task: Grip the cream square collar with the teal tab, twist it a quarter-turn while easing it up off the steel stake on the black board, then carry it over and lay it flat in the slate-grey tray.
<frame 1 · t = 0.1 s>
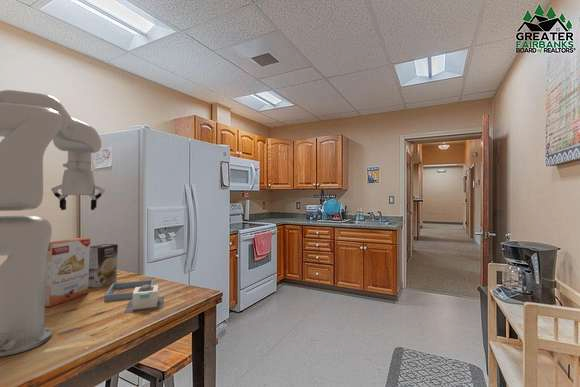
hand: (78, 209, 111), 31 cm above the table, tool pointing down, fingers open, 9 cm apart
coffee box: (101, 284, 116), on the table
tray: (131, 294, 104), on the table
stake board: (145, 307, 92), on the table
cracker box: (64, 300, 98), on the table
collar: (145, 304, 92), point 1 cm above the table, touching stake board
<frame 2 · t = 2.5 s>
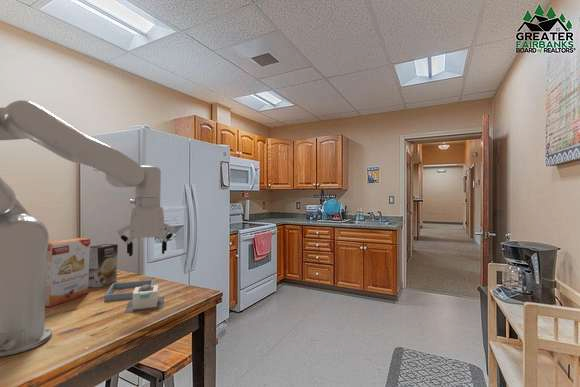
hand: (147, 254, 93), 18 cm above the table, tool pointing down, fingers open, 9 cm apart
nothing on the table moved.
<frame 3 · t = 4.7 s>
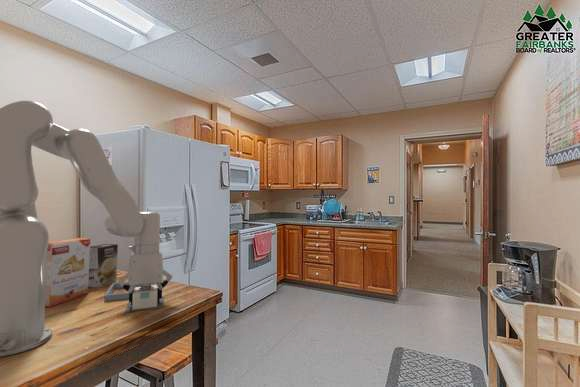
hand: (145, 301, 92), 2 cm above the table, tool pointing down, fingers closed on collar, 7 cm apart
collar: (145, 304, 92), point 1 cm above the table, touching gripper, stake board
everything else where it was.
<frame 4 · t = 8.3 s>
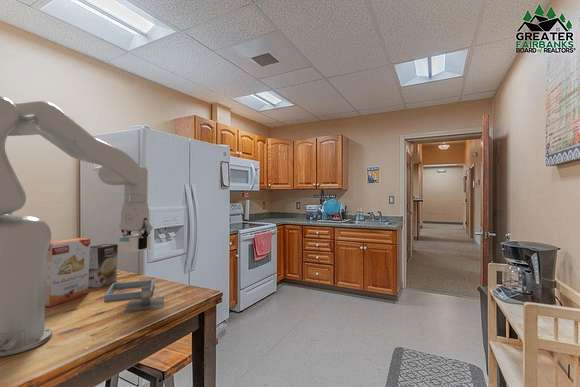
hand: (135, 247, 102), 18 cm above the table, tool pointing down, fingers closed on collar, 7 cm apart
collar: (135, 249, 102), point 17 cm above the table, touching gripper
everything else where it was.
when the fingers open (3 cm above the table, at t = 11.9 s): collar drops 2 cm, resting on tray.
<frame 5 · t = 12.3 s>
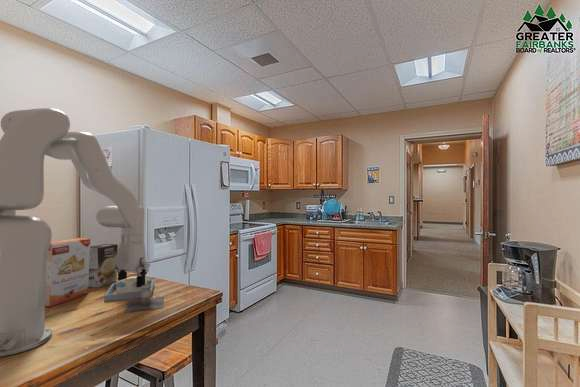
hand: (131, 284, 104), 4 cm above the table, tool pointing down, fingers open, 9 cm apart
collar: (131, 293, 104), point 1 cm above the table, touching tray
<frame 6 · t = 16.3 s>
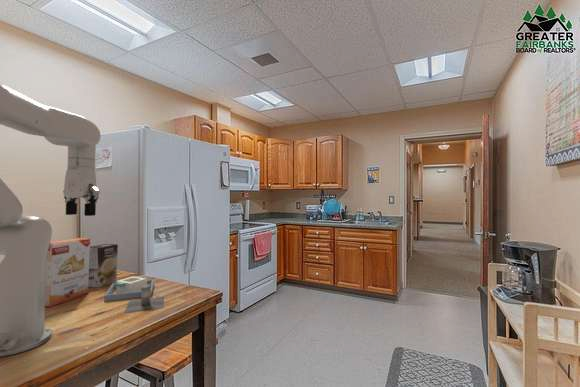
hand: (80, 215, 94), 30 cm above the table, tool pointing down, fingers open, 9 cm apart
at the end: collar inside the target area on the tray (0.1 cm from its centre), point 0.6 cm above the tray's base; collar tilted 0°; the gripper is holding nothing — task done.
